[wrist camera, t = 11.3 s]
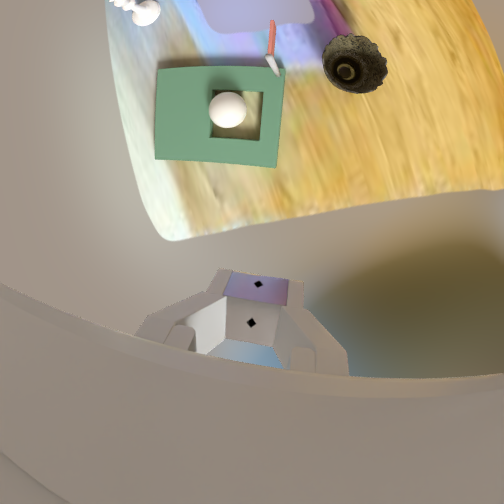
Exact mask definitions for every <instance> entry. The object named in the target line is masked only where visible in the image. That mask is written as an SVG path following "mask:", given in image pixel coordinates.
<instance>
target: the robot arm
mask: <svg viewBox="0 0 504 504" xmlns="http://www.w3.org/2000/svg"><path fill="white" fill-rule="evenodd" d="M303 293H304V282H303V281H298V280H288V279H282V278H274V277H267V276H261V275H256V274H251V273H246V272H240V271H235V270H234V271H233V270H230V269H224V268H219V269H218V270H217V272H216V274H215V276H214V278H213V280H212V282H211V284H210V286H209V287H208V289H207V291H206V292H200V293H198V294H195V295H193V296H191V297H189V298H186V299H184V300H182V301H180V302H177V303H175V304H173V305H171V306H168V307H166V308H164V309H162V310H159V311H157V312H155V313H152V314H150V315H148V316H147V317H146V319H145V320H144V322H143V323H142V325H141V326H140V328H139V329H138V331H137V332H136V333H135V335H134V336H133V335H130V334H126V333H124V332H120V331H117V330H114V329H111V328H108V327H106V326H103V325H100V324H97V323H94V322H91V321H88V320H86V319H83V318H80V317H78V316H75V315H72V314H70V313H67V312H64V311H62V310H60V309H57V308H55V307H53V306H50V305H48V304H45V303H43V302H41V301H38V300H36V299H34V298H32V297H29V296H27V295H25V294H23V293H21V292H19V291H17V290H15V289H12V288H10V287H8V286H6V285H4V284H2V283H0V504H504V373H502V374H493V375H483V376H472V377H457V378H434V379H433V378H430V379H395V378H368V377H353V376H349V369H348V360H347V352H346V351H345V350H344V348H342V346H341V345H340V344H339V343H338V342H337V341H336V340H335V339H334V338H333V336H331V334H330V333H329V332H328V331H327V330H326V329H325V328H324V327H323V326H322V325H321V324H320V323H319V321H318V320H317V319H316V318H315V317H314V316H313V315H312V314H311V313H310V312H309V310H307V309H303V298H304V294H303ZM225 338H226V339H232V340H237V341H244V342H250V343H255V344H260V345H265V346H270V347H273V349H274V351H275V353H276V355H277V356H278V358H279V360H280V362H281V364H282V366H283V368H284V369H279V368H273V367H266V366H261V365H255V364H249V363H244V362H238V361H233V360H228V359H223V358H219V357H214V356H209V355H205V354H206V353H208V352H209V351H210V350H212V349H213V348H214V347H216V346H217V345H218V344H219V343H221V342H222V341H223V340H224V339H225Z"/></svg>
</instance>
